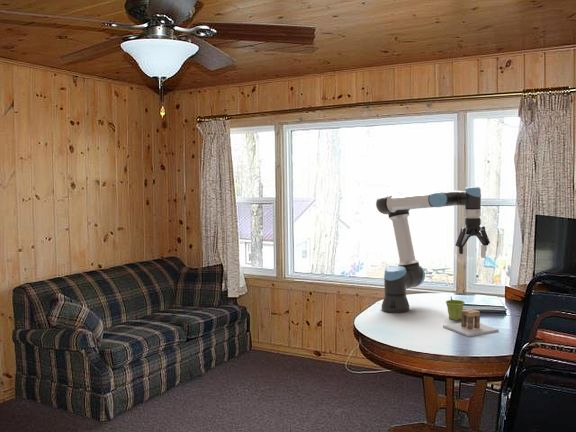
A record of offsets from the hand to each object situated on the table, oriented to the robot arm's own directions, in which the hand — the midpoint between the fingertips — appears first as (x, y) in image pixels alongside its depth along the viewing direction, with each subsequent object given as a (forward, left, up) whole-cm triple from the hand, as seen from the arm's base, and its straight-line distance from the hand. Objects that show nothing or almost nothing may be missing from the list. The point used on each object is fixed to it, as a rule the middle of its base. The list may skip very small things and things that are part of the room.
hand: (472, 259), depth 291 cm
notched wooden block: (+15, -15, -30) cm, 36 cm away
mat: (+15, -15, -31) cm, 37 cm away
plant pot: (-4, -8, -31) cm, 32 cm away
